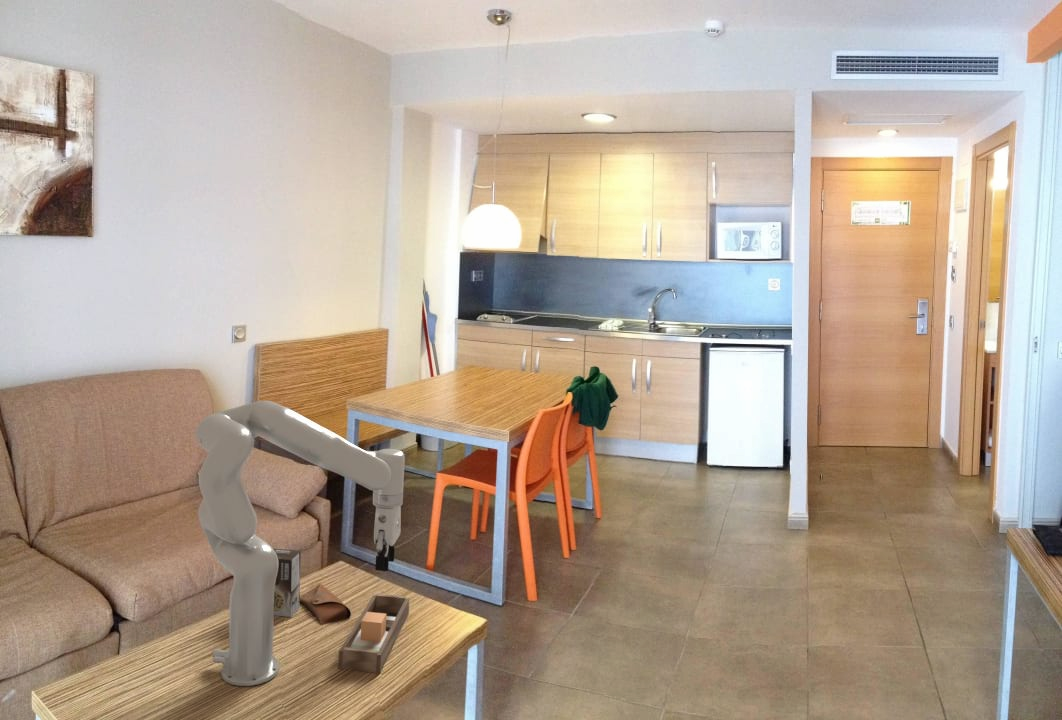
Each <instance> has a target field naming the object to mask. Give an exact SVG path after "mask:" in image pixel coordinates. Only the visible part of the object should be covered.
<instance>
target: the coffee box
mask: <svg viewBox="0 0 1062 720" xmlns="http://www.w3.org/2000/svg"><path fill="white" fill-rule="evenodd" d="M273 549H274V551H275V552H276V554H277V557H278V562H279V564H278V572H277V577H276V582H275V589H274V616H277V617H287V618H292V617H293V616H294V615H295V613H296V612H298V610H299V609H300V608H301V606H300V604H301V603H300V597H301V594H300V593H301V558H302V557H301V553H302V552H301V550H294V549H293V550H291V549H283V548H282V549H281V548H273Z"/></svg>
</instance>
